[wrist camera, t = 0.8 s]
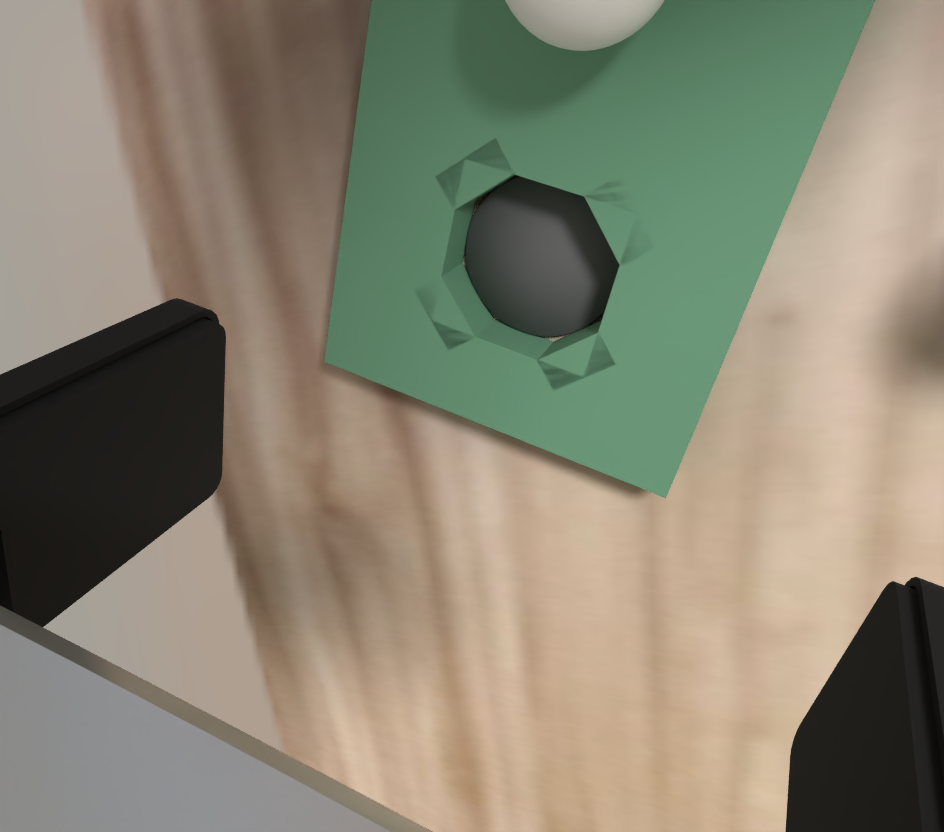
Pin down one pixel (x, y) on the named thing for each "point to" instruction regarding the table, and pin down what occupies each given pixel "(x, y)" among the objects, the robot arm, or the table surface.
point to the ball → (583, 20)
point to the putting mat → (574, 212)
